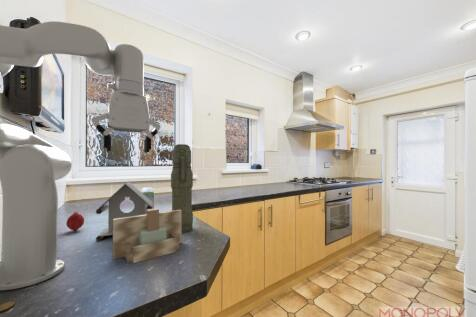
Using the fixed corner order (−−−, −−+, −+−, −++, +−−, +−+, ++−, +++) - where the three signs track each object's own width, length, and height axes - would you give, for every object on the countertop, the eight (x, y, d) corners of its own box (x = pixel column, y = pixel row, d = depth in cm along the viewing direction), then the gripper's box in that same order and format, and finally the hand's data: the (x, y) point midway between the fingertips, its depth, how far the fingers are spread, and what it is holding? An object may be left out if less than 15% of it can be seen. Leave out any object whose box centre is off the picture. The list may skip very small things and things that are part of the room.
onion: (83, 231, 84) (84, 211, 85) (65, 234, 81) (65, 213, 81) (84, 227, 89) (84, 209, 89) (67, 230, 86) (67, 210, 86)
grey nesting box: (153, 228, 88) (153, 181, 89) (151, 235, 79) (152, 182, 80) (103, 233, 82) (103, 182, 83) (95, 241, 73) (96, 184, 74)
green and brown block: (141, 254, 59) (141, 212, 59) (138, 250, 62) (138, 210, 63) (166, 248, 63) (166, 209, 64) (162, 244, 66) (162, 207, 67)
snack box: (142, 215, 111) (142, 187, 111) (153, 214, 113) (153, 186, 113) (140, 226, 91) (140, 191, 92) (154, 224, 93) (154, 191, 94)
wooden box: (116, 267, 54) (116, 224, 54) (112, 257, 60) (113, 218, 60) (189, 248, 66) (189, 213, 66) (179, 241, 72) (179, 209, 72)
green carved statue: (173, 235, 78) (173, 143, 80) (168, 227, 89) (169, 145, 90) (196, 231, 82) (196, 143, 83) (189, 224, 93) (189, 146, 94)
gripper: (92, 79, 51) (91, 149, 50) (164, 94, 61) (163, 151, 61) (91, 89, 57) (90, 151, 56) (156, 100, 67) (156, 153, 67)
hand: (128, 151), depth 58 cm, fingers open, 9 cm apart
